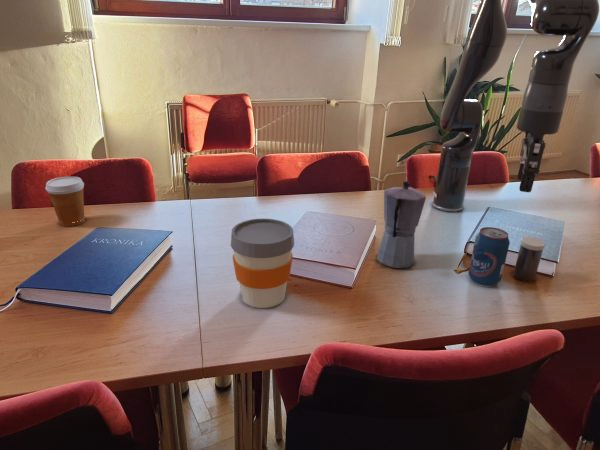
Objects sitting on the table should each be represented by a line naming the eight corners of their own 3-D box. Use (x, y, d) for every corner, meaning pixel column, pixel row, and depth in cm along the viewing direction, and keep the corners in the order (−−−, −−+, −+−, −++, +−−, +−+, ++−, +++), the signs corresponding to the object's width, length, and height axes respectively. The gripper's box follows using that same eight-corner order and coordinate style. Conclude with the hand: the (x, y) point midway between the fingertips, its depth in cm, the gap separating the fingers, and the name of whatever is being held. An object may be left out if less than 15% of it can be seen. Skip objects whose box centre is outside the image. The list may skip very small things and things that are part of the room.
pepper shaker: (512, 269, 105) (521, 235, 101) (534, 274, 103) (544, 239, 100) (512, 279, 101) (521, 243, 97) (535, 283, 99) (545, 248, 96)
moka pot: (418, 251, 113) (430, 176, 105) (412, 280, 99) (424, 197, 91) (381, 245, 115) (389, 171, 107) (370, 273, 102) (378, 191, 94)
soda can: (462, 280, 100) (471, 232, 95) (474, 269, 105) (484, 223, 100) (492, 292, 96) (504, 242, 91) (504, 280, 100) (516, 232, 96)
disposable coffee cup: (45, 225, 122) (35, 184, 117) (73, 213, 130) (65, 174, 125) (71, 231, 119) (62, 189, 114) (98, 218, 127) (91, 178, 122)
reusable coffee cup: (270, 320, 85) (270, 251, 79) (220, 300, 91) (216, 233, 85) (304, 291, 94) (306, 227, 88) (257, 274, 100) (256, 213, 94)
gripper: (569, 114, 80) (546, 198, 86) (559, 103, 92) (540, 178, 98) (523, 110, 82) (505, 193, 89) (519, 101, 94) (503, 174, 101)
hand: (523, 185), depth 94 cm, fingers open, 8 cm apart
